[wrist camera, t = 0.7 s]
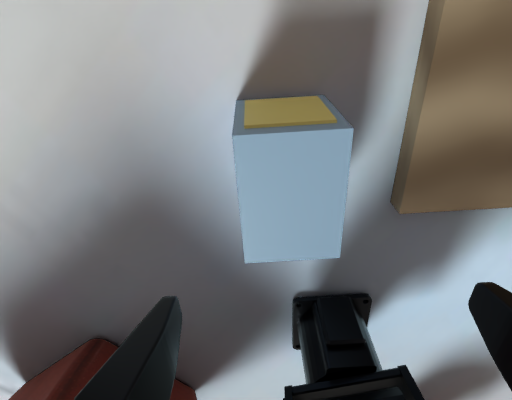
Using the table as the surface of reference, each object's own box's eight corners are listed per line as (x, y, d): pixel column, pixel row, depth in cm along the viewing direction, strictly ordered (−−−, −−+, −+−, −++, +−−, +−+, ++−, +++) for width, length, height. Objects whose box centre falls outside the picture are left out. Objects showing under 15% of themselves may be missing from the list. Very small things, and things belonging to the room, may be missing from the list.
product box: (317, 199, 22) (339, 257, 17) (245, 203, 22) (244, 263, 17) (323, 91, 18) (354, 124, 13) (236, 97, 18) (231, 132, 13)
